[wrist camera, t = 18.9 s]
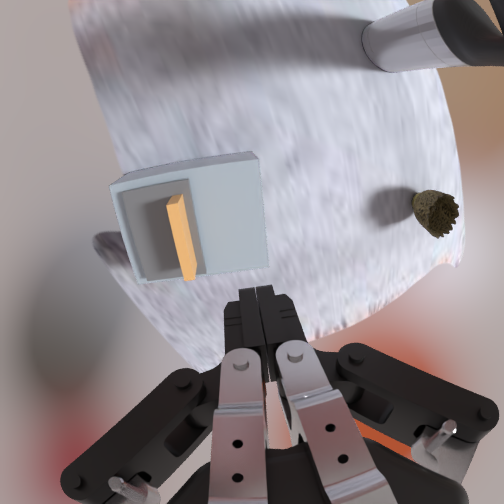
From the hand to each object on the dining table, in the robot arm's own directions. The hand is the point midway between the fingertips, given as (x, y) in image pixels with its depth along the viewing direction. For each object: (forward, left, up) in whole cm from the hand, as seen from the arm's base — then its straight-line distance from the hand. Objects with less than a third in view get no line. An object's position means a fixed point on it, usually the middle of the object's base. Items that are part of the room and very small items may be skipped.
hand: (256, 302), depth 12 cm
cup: (-32, +7, -29) cm, 44 cm away
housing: (+6, +4, -29) cm, 30 cm away
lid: (+9, +4, -21) cm, 23 cm away
